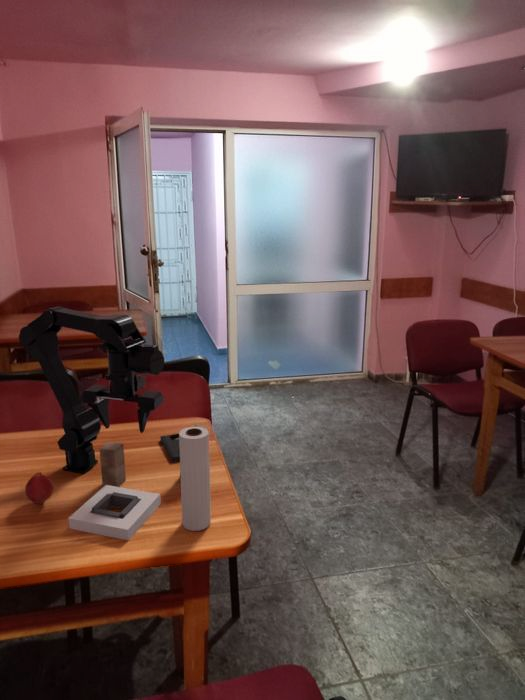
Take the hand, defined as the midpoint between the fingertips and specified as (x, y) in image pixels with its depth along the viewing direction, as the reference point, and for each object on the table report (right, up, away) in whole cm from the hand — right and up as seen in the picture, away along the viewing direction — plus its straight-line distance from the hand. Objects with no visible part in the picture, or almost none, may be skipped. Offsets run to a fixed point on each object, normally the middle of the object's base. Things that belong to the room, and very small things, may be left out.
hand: (124, 430), depth 126 cm
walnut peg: (-3, -13, +1) cm, 13 cm away
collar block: (+2, -17, -13) cm, 21 cm away
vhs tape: (+10, -9, +19) cm, 24 cm away
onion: (-17, -16, -8) cm, 24 cm away
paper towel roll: (+20, -18, -15) cm, 30 cm away
